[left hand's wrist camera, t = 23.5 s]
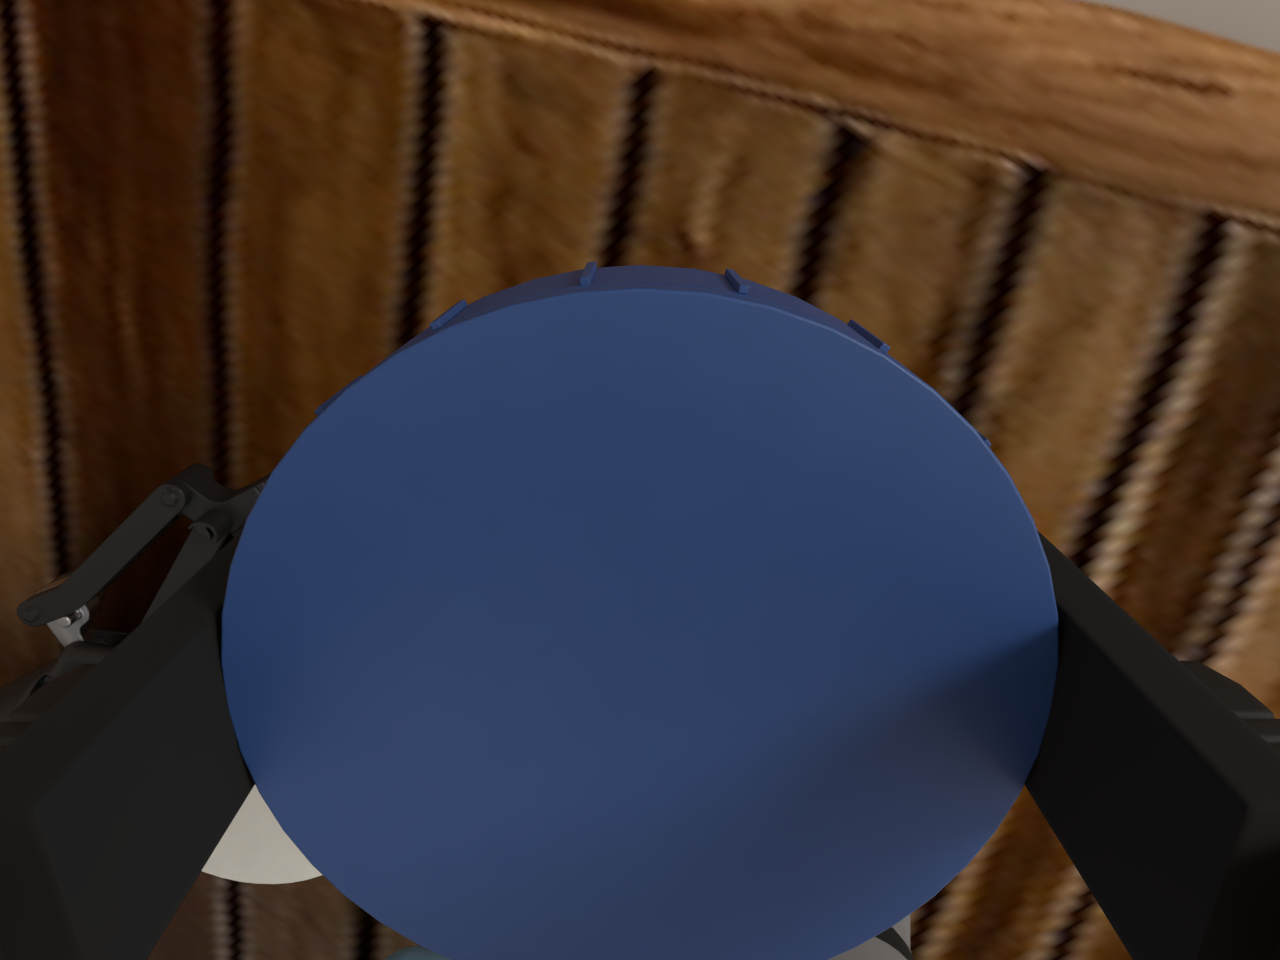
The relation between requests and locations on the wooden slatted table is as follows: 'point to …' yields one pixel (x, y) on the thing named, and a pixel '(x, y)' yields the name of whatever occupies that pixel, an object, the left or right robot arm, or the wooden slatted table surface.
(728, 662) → the lid
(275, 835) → the jar
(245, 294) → the wooden slatted table surface
